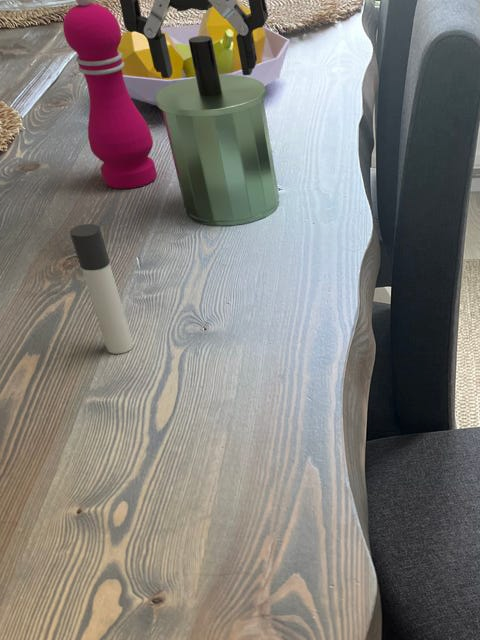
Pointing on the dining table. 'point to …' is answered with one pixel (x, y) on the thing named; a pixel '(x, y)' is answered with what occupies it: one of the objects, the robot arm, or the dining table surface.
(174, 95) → the canister lid
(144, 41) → the fruit bowl
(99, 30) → the pepper mill
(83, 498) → the dining table surface
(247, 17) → the robot arm
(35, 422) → the dining table surface
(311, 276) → the dining table surface
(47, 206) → the dining table surface
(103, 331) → the marker
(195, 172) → the canister
